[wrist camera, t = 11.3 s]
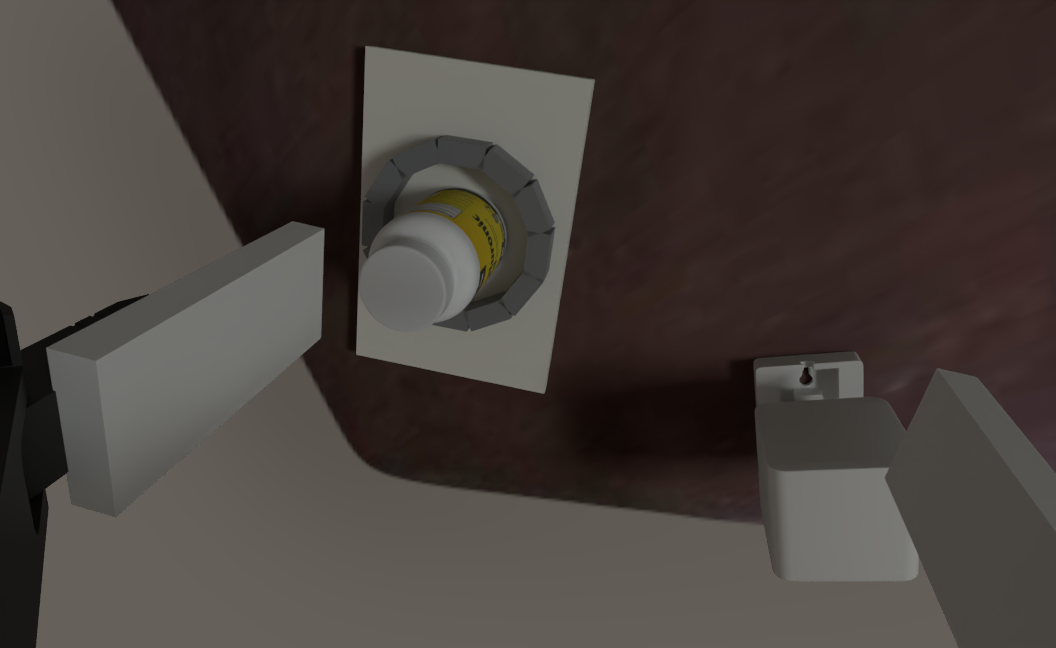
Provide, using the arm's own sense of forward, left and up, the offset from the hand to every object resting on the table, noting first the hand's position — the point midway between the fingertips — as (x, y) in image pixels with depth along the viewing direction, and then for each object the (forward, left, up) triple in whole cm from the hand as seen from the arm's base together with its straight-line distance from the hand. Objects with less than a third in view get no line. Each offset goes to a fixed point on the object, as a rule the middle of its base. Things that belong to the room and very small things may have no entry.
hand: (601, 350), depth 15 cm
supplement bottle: (+5, -9, -23) cm, 25 cm away
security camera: (+12, +12, -24) cm, 29 cm away
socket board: (+5, -9, -24) cm, 26 cm away
